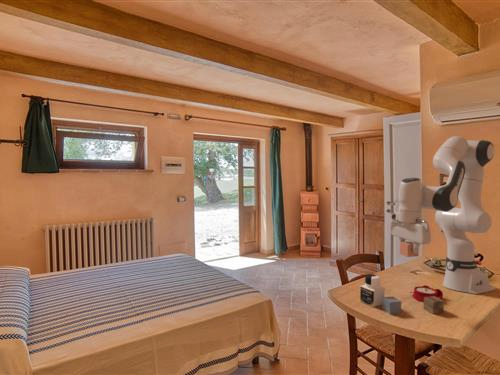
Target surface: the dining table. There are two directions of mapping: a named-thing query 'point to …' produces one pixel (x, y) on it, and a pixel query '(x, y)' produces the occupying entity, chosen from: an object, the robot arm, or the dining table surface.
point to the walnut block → (433, 305)
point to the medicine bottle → (372, 291)
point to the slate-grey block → (391, 305)
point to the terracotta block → (407, 249)
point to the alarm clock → (426, 292)
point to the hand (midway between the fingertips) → (409, 250)
